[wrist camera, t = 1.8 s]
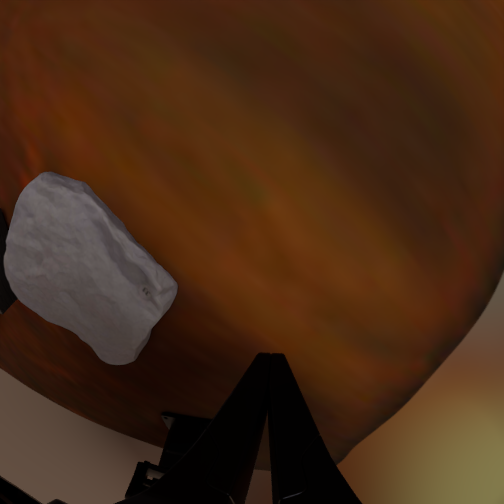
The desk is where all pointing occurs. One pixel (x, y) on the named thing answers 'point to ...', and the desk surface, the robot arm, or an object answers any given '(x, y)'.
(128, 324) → the stone block
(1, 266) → the black rectangular block
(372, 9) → the desk surface
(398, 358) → the desk surface
